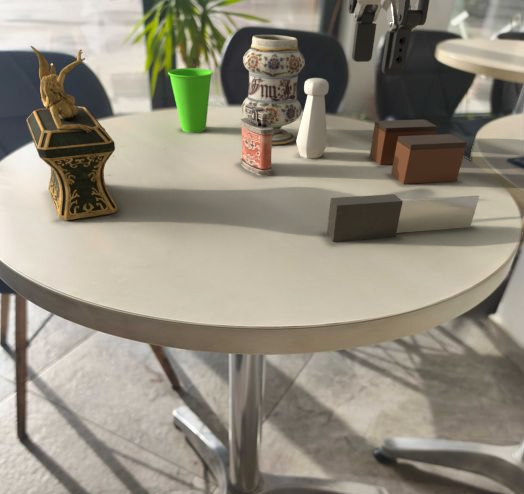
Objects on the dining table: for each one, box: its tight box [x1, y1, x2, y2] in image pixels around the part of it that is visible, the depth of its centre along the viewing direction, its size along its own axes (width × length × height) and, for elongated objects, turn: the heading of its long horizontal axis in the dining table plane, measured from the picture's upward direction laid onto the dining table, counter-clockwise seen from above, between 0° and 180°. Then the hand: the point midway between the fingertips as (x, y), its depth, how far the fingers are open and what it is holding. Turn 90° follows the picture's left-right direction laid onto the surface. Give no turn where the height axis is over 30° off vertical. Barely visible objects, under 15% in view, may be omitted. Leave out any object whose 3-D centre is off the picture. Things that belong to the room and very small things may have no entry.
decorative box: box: [25, 45, 119, 221], centre depth 69 cm, size 20×10×20 cm, turn 25°
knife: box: [326, 193, 480, 243], centre depth 67 cm, size 21×3×5 cm, turn 103°
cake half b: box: [369, 118, 438, 166], centre depth 92 cm, size 10×5×6 cm, turn 103°
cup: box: [167, 67, 214, 134], centre depth 103 cm, size 9×9×11 cm
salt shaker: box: [295, 77, 330, 159], centre depth 91 cm, size 6×6×13 cm
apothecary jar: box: [241, 34, 306, 146], centre depth 97 cm, size 12×12×18 cm
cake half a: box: [390, 133, 468, 185], centre depth 84 cm, size 10×5×6 cm, turn 103°
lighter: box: [240, 104, 273, 177], centre depth 85 cm, size 8×3×10 cm, turn 32°
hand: (375, 67), depth 55 cm, fingers open, 8 cm apart
